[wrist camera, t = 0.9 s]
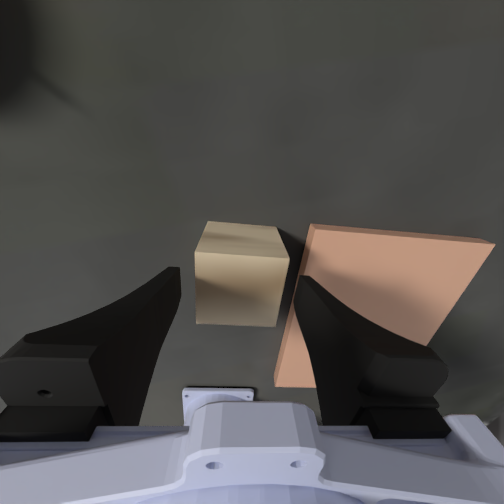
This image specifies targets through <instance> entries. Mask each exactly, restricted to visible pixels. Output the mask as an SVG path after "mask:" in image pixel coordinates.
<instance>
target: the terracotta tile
mask: <svg viewBox="0 0 504 504" xmlns="http://www.w3.org/2000/svg"><path fill="white" fill-rule="evenodd" d="M494 246H495V244H493V243H490V242H488V241H485V240H482V239H480V238H470V237H459V236H447V235H436V234H424V233H413V232H401V231H390V230H378V229H367V228H355V227H344V226H332V225H321V224H310V227H309V231H308V235H307V240H306V244H305V248H304V252H303V256H302V260H301V265H300V269H299V273H298V277H297V281H296V285H295V290H294V294H293V298H292V302H291V306H290V310H289V315H288V319H287V323H286V327H285V331H284V335H283V339H282V344H281V348H280V352H279V356H278V360H277V364H276V369H275V373H274V381H275V387H316V384H315V379H314V374H313V370H312V366H311V361H310V357H309V353H308V350H307V347H306V344H305V341H304V338H303V335H302V332H301V330H300V327H299V324H298V321H297V318H296V314H295V309H294V304H293V299H294V295H295V291H296V287H297V283H298V279H299V275H307V276H310V277H312V278H313V279H314V280H315V281H317V282H318V283H319V284H320V285H321V286H322V287H324V288H325V289H326V290H327V291H328V292H330V293H331V294H332V295H333V296H334V297H336V298H337V299H338V300H340V301H341V302H342V303H344V304H345V305H346V306H348V307H349V308H351V309H352V310H354V311H355V312H357V313H358V314H360V315H361V316H363V317H365V318H366V319H368V320H370V321H372V322H374V323H375V324H377V325H379V326H381V327H383V328H385V329H387V330H389V331H391V332H393V333H395V334H398V335H400V336H402V337H404V338H406V339H409V340H412V341H414V342H417V343H419V344H422V345H424V346H427V344H428V343H429V341H430V340H431V338H432V337H433V335H434V334H435V332H436V331H437V329H438V328H439V327H440V325H441V324H442V322H443V321H444V319H445V318H446V316H447V315H448V313H449V312H450V310H451V309H452V308H453V306H454V305H455V303H456V302H457V300H458V299H459V297H460V296H461V294H462V293H463V291H464V290H465V289H466V287H467V286H468V284H469V283H470V281H471V280H472V278H473V277H474V275H475V274H476V272H477V271H478V270H479V268H480V267H481V265H482V264H483V262H484V261H485V259H486V258H487V256H488V255H489V253H490V252H491V251H492V249H493V248H494Z"/></svg>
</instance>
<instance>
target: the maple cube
mask: <svg viewBox="0 0 504 504" xmlns="http://www.w3.org/2000/svg"><path fill="white" fill-rule="evenodd" d="M289 260H290V258H289V256H288V253H287V251H286V249H285V246H284V244H283V242H282V239H281V237H280V235H279V233H278V230H277V228H276V227H271V226H259V225H248V224H236V223H224V222H212V221H208V222H207V225H206V227H205V229H204V232H203V234H202V236H201V239H200V241H199V243H198V246H197V248H196V250H195V290H196V324H218V325H242V326H266V327H275V326H276V322H277V317H278V312H279V307H280V303H281V298H282V293H283V288H284V284H285V279H286V274H287V270H288V265H289Z"/></svg>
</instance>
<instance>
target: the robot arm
mask: <svg viewBox="0 0 504 504" xmlns="http://www.w3.org/2000/svg"><path fill="white" fill-rule="evenodd" d="M180 298H181V280H180V267H168V268H166V269H165V270H164V271H162V272H161V273H159V274H158V275H157V276H155V277H154V278H153V279H151V280H150V281H148V282H147V283H146V284H144V285H142V286H141V287H139V288H138V289H136V290H135V291H133V292H131V293H130V294H128V295H126V296H125V297H123V298H121V299H119V300H117V301H115V302H113V303H111V304H109V305H107V306H105V307H103V308H100V309H98V310H96V311H94V312H92V313H89V314H87V315H84V316H82V317H79V318H76V319H74V320H71V321H68V322H65V323H62V324H59V325H56V326H53V327H50V328H46V329H43V330H40V331H36V332H33V333H29V334H26V335H25V336H24V337H23V338H22V339H20V340H19V341H18V342H17V343H16V344H15V345H14V346H13V347H11V348H10V349H9V350H8V351H7V352H6V353H5V354H4V355H2V356H1V357H0V396H1V398H2V399H3V400H4V402H5V403H6V404H7V407H6V408H5V409H4V410H3V411H2V413H1V414H0V504H504V447H503V446H502V444H501V443H500V442H499V441H498V440H497V439H496V438H495V436H494V435H493V434H492V433H491V432H490V431H489V429H488V428H487V427H486V426H485V425H484V424H483V423H482V421H481V420H480V419H479V418H478V417H477V416H476V415H473V414H450V415H446V416H443V417H442V416H441V415H440V413H439V412H438V411H437V409H436V408H438V407H439V404H438V402H437V401H436V400H435V398H434V397H433V395H434V394H435V393H436V392H437V391H438V389H439V388H440V387H441V386H442V385H443V384H444V382H445V381H446V379H447V377H448V372H449V371H448V367H447V365H446V364H445V363H444V362H443V361H442V360H441V359H440V358H439V357H438V355H437V354H436V353H435V352H434V351H433V350H432V349H431V348H429V347H427V346H424V345H422V344H419V343H417V342H414V341H412V340H409V339H406V338H404V337H402V336H400V335H398V334H395V333H393V332H391V331H389V330H387V329H385V328H383V327H381V326H379V325H377V324H375V323H374V322H372V321H370V320H368V319H366V318H365V317H363V316H361V315H360V314H358V313H357V312H355V311H354V310H352V309H351V308H349V307H348V306H346V305H345V304H344V303H342V302H341V301H340V300H338V299H337V298H336V297H334V296H333V295H332V294H331V293H330V292H328V291H327V290H326V289H325V288H324V287H322V286H321V285H320V284H319V283H318V282H317V281H315V280H314V279H313V278H312V277H310V276H307V275H299V279H298V283H297V287H296V291H295V295H294V299H293V304H294V309H295V314H296V318H297V321H298V324H299V327H300V330H301V332H302V335H303V338H304V341H305V344H306V347H307V350H308V353H309V357H310V361H311V366H312V370H313V374H314V379H315V384H316V389H317V394H318V400H319V405H320V410H321V417H322V423H323V426H318V425H317V421H316V418H315V414H314V411H313V410H311V409H310V408H309V407H307V406H306V405H304V404H303V403H298V402H292V401H253V396H254V390H253V389H250V388H184V389H183V392H182V397H183V411H184V426H139V422H140V418H141V414H142V410H143V406H144V403H145V399H146V396H147V392H148V388H149V385H150V382H151V378H152V375H153V372H154V368H155V365H156V362H157V359H158V356H159V352H160V350H161V347H162V344H163V342H164V340H165V337H166V335H167V333H168V330H169V328H170V326H171V324H172V321H173V319H174V317H175V314H176V312H177V309H178V306H179V302H180Z"/></svg>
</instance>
